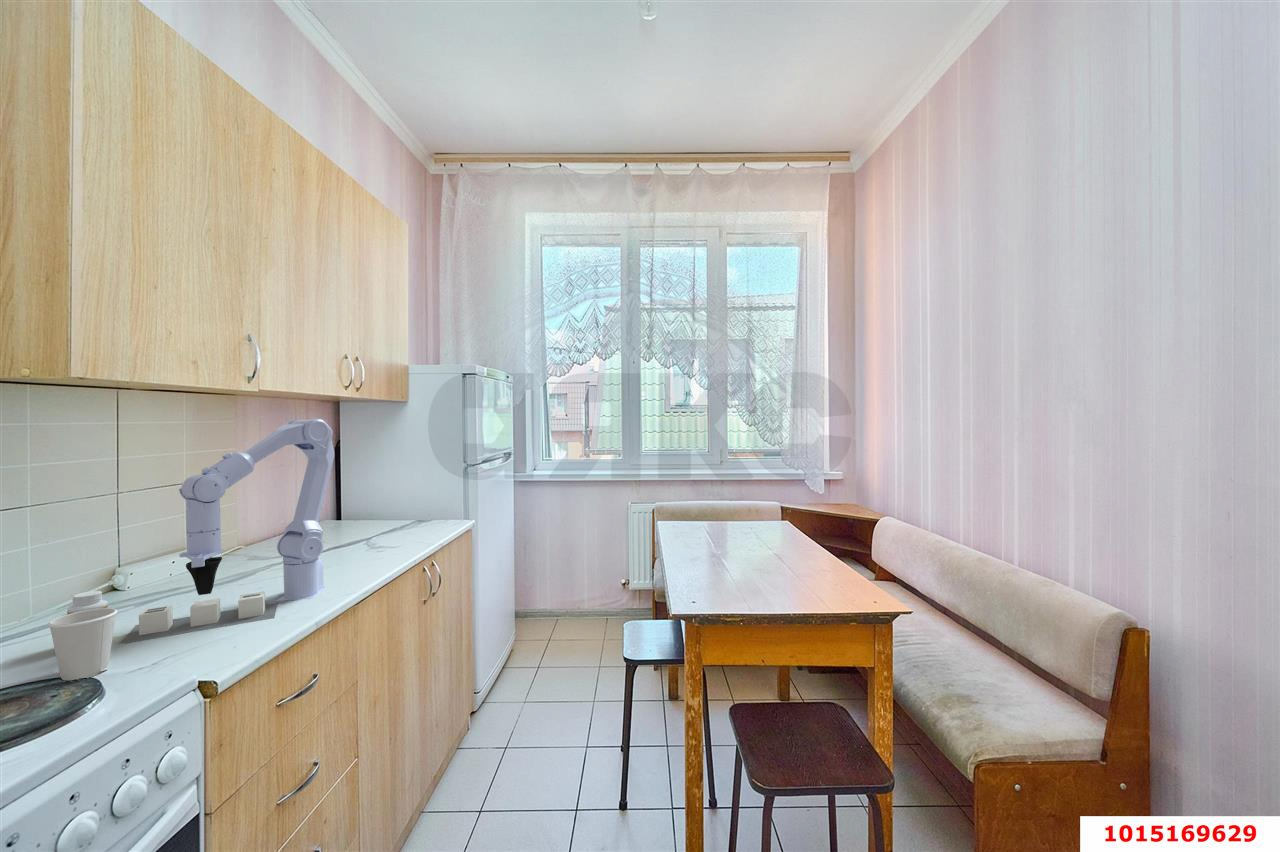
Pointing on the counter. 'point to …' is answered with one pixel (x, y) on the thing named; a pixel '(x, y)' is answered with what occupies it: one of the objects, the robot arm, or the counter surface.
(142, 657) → the counter surface
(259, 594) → the one bar block
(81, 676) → the dixie cup
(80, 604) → the supplement bottle
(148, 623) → the two bar block
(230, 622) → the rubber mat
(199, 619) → the plain block
